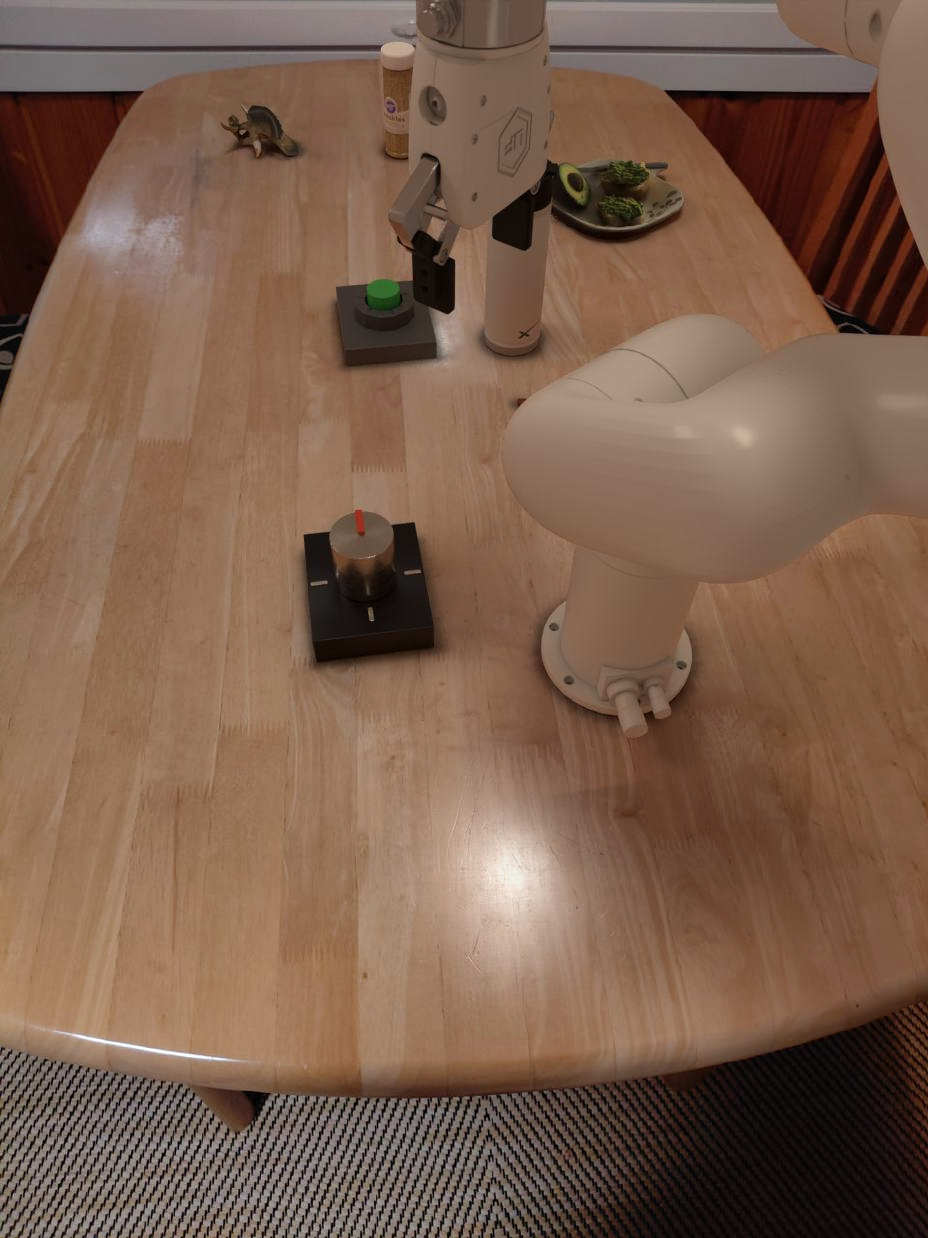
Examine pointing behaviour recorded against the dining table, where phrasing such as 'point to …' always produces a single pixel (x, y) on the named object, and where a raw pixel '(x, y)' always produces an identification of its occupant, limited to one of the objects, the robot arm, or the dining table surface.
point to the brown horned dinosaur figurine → (261, 129)
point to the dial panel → (368, 604)
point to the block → (384, 327)
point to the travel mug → (518, 281)
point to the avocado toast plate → (613, 197)
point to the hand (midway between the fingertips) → (474, 273)
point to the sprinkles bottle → (397, 95)
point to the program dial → (363, 556)
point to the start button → (383, 294)
